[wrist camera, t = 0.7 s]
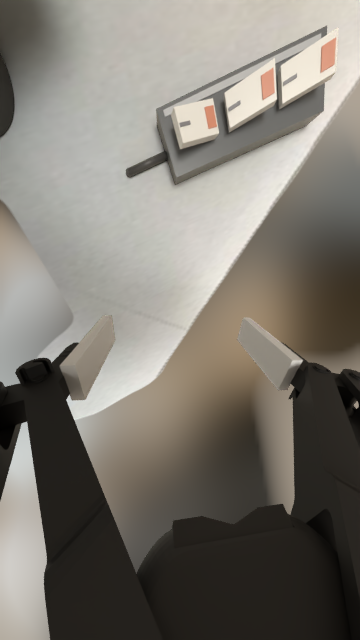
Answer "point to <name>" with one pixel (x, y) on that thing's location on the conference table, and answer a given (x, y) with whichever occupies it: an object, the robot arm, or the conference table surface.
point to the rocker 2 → (251, 96)
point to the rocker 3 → (308, 69)
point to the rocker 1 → (195, 123)
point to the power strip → (246, 135)
